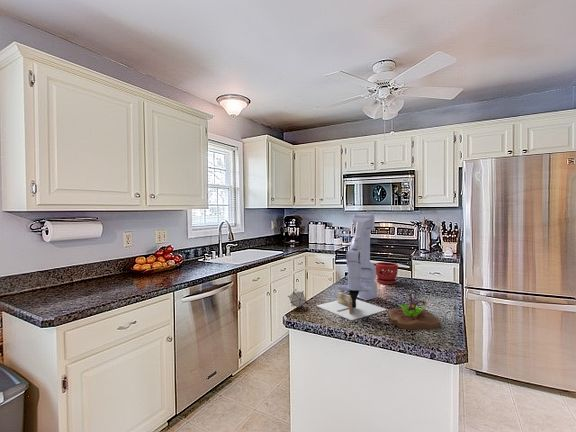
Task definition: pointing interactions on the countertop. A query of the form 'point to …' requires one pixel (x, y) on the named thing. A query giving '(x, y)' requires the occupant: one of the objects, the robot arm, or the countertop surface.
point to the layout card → (358, 312)
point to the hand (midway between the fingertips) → (354, 307)
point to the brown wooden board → (350, 306)
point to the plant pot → (386, 272)
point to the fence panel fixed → (343, 299)
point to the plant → (413, 317)
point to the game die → (297, 298)
